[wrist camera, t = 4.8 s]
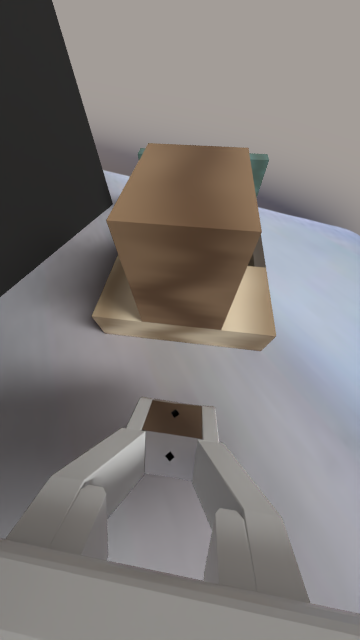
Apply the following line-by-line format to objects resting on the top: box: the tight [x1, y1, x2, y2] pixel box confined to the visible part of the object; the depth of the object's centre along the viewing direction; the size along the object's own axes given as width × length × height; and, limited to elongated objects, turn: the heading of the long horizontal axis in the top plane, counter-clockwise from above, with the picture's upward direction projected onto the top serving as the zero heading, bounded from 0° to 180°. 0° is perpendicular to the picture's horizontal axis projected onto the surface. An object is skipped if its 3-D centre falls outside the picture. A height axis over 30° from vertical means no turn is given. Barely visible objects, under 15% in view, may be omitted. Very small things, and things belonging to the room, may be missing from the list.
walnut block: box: [106, 143, 262, 330], centre depth 13 cm, size 6×8×8 cm
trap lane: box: [92, 148, 276, 351], centre depth 19 cm, size 14×20×7 cm
